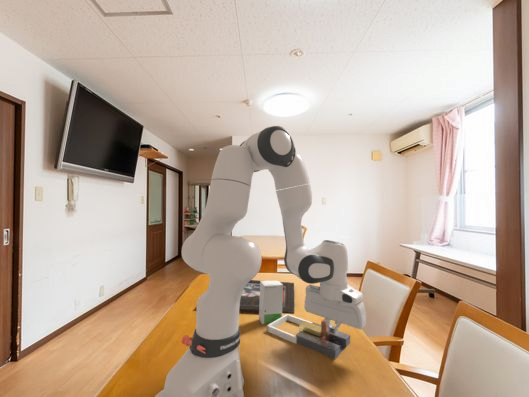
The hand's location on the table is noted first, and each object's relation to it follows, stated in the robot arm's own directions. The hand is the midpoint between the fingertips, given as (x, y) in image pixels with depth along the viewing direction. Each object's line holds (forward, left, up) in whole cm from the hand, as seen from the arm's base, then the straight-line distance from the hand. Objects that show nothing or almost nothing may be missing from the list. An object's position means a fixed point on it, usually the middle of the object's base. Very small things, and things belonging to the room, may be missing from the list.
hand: (333, 332), depth 82 cm
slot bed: (0, +4, -6) cm, 7 cm away
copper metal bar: (0, +3, -4) cm, 5 cm away
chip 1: (0, +10, -4) cm, 11 cm away
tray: (0, +17, -6) cm, 17 cm away
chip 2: (0, +6, -4) cm, 7 cm away
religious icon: (+17, +52, -6) cm, 55 cm away
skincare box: (+2, +28, -6) cm, 28 cm away
